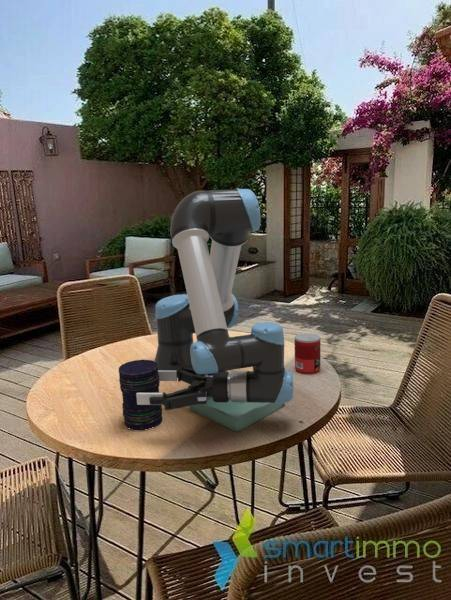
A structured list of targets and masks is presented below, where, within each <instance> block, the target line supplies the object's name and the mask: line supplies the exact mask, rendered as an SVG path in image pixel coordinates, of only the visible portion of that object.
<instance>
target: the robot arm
mask: <svg viewBox="0 0 451 600" xmlns="http://www.w3.org/2000/svg"><path fill="white" fill-rule="evenodd" d="M261 220H262V219H261V210H260V205H259V201H258V198H257V196H256V194H255V193H254V192H253V191H252V190H251V189H249V188H239V187H238V188H235V189H216V190H215V189H214V190H211V189H210V190H196V191H193V192H191V193H189V194H187V195H186V196H184V197H183V198H182V199H181V201H179V203H178V205H176V207H175V209H174V212H173V214H172V216H171V221H170V227H169V228H170V229H169V231H170V239H171V244H172V247H174V248H175V249H177V253H178V258H179V263H180V266H181V271H182V272H181V273H182V277H183V281H184V285H185V289H186V293H183V294H174V295H170V296H167V297H163V298H161V299H160V300H158V301H157V302H156V304H155V311H154V312H155V315H154V318H155V321H156V334H157V350H156V354H155V359H154V361H155V362H156V363H157V364H158V373H159V381H160V382H183V383H185V384H188V386H187V388H183V389H179V390H176V391H173V392H171V393H166V392H159V393H137V394H136V397H137V405H162V406H163V407H164V411H170V410H175V409H180V408H186V407H189V406H191V405H196V404H206V403H207V400H206V397H212V398H213V401H214V402H228V401H229V400H231V402H240V403H242V404H243V403H244V402H259V403H290V402H292V401H293V399H294V375H293V372H292V371H291V370H287V369H286V368H285V334H284V329H283V327H282V326H281V324H279V323H277V322H274V321H273V322H272V321H262V322H258V323H254V325H252V326H251V329H250V330H251V331H250V334H244V335H237V336H230V335H229V331H228V329H232V328H233V327H234V326H235V325H236V323H237V321H238V317H239V303H238V300H237V298H236V296H235V295H234V294H233V287H234V283H235V278H236V273H237V269H238V263H239V258H240V254H241V249H242V246H243V245H244V244H246V243H247V242H248V240H249V239H250V234H251V232H252V233H255V232H257V231H259V230H260V227H261ZM209 239H211V246H210V250H209V247H208V243H207V242H208V241H209ZM193 334H195V337H196V340H197V341H195V342H194V335H193ZM250 367H251V368H252V370H240V369H245V368H250ZM229 371H230V372H229Z"/></svg>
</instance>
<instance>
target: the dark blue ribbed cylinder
mask: <svg viewBox="0 0 451 600" xmlns="http://www.w3.org/2000/svg"><path fill="white" fill-rule="evenodd" d="M118 374H119V375H118V377H119V379H118V381H119V388H120V392H121V394H122V395H121V396H122V405H121V407H122V416H123V419H124V421H123V422H124V426H125V427H127V429H128V428H130V429H133V430H132V431H134V430H143V431H146V430H145V429H149V428H152V427H154V428H156V427H158V426H160V425H161V423H162V422H163V405H137V397H136V394H137V393H160V388H159V387H160V382H161V381H159V373H158V364H157V363H156V362H155V360H150V359H136V360H131V361H128V362H125V363H123V364H121V365H120V366H119V367H118ZM155 426H156V427H155ZM130 429H129V430H130ZM152 429H153V428H152ZM149 430H150V429H149Z"/></svg>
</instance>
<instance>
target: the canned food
mask: <svg viewBox="0 0 451 600" xmlns="http://www.w3.org/2000/svg"><path fill="white" fill-rule="evenodd" d="M294 369H295V371H296V372H298V373H300V374H303V375H314V374H317V373H319V372H320V370H321V336H320V335H318V334H316V333H309V332H306V333H305V332H304V333H299V334H296V335H294Z"/></svg>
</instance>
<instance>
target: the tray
mask: <svg viewBox="0 0 451 600" xmlns="http://www.w3.org/2000/svg"><path fill="white" fill-rule="evenodd" d="M206 400H207V403H206V404H196V405H191V406H188V408H189V410H190V411H193V412H194V413H197V414H199V415H201V416H204V417H205V418H207V419H209V420H211V421H214V422H215V423H218V424H220V425H221V426H225V427H226V428H229V429H231V430H232V431H235V432H236V433H237V432H240V431H242V430H244V429H245V428H247V427H248V426H251V425H252V424H255V423H256V422H258V421H259V420H261V419H263V418H265V417H267V416H268V415H270V414H272V413H274V412H276V411H277V410H279V409H281V408H284V407H285V403H286V402H285V403H259V402H244V403H243V404H242V403H240V402H231V400H229V401H228V402H214V401H213V398H212V397H206Z"/></svg>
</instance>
